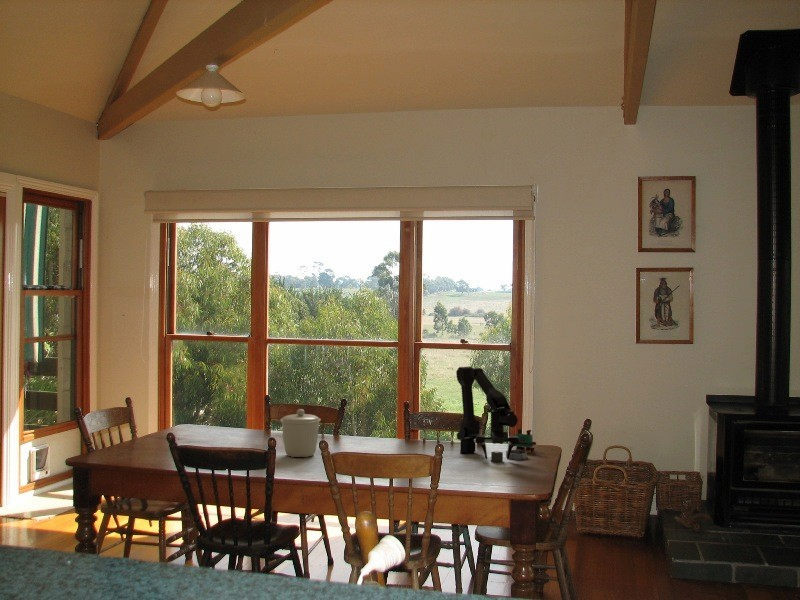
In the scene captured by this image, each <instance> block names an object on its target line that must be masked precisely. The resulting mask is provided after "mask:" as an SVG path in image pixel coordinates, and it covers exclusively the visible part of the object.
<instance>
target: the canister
mask: <svg viewBox="0 0 800 600" xmlns="http://www.w3.org/2000/svg"><path fill="white" fill-rule="evenodd" d="M321 420H322V419H321V418H320V417H318V416H317V415H315V414H308V413H305V410H304V408H303V409H302V408H298V409H297V411H296V413H294V414H288V415H285V416H283V417H282V418H280V420H279V421H280V422H281V428H282V437H283V445H284V452H285V454H286V455H287V456H288V457H290V456H291V457H290V458H294V457H305V458H310V457H311V456H314V455H315V454H316V450H317V444H318V434H319V427H320V422H321ZM309 456H310V457H309Z"/></svg>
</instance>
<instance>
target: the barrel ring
mask: <svg viewBox="0 0 800 600" xmlns="http://www.w3.org/2000/svg"><path fill="white" fill-rule="evenodd" d="M507 452H508V450H505V457H506V459H507ZM526 459H528V453H527V452H526V451H525V450H516V449H512V450H511V452H510V455H509V458H508V460H514V461H515V460H518V461H523V460H526Z"/></svg>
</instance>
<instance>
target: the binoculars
mask: <svg viewBox="0 0 800 600" xmlns="http://www.w3.org/2000/svg"><path fill="white" fill-rule="evenodd" d="M516 431H517V432H515V436H518V438H519V444H516V446H515V447H516V448H515V450H523V451H526V452H527V454H528V453H532V451H535V447H533V446H536V445H537V442H536V441H533V434H531V432H532V430H531V429H528V430H526V432H525V433H522V429H521V428H517V430H516Z"/></svg>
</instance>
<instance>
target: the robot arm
mask: <svg viewBox="0 0 800 600" xmlns="http://www.w3.org/2000/svg"><path fill="white" fill-rule="evenodd" d="M455 373H456V375H455V376H456V379H457V380H456V381H457V382H458V384H459V385H460V387H461V400H462V413H463V414H462V415H463V419H462V420H461V423H460V428H459V431H458V432H457V433H456V440H458V441H460V450H459V451H460V452H459V454H465V455H466V454H470V455H474V454H475V452H476V444H478V446H481V448H482V451H483V454H484V457H485V460H487V459H488V454H487V446H486V442H491V443H492V444H493V445H494V444H499V445H503V444H504V443H507V444H508V445H507V451H508V452H507V458H506V459H507V460H509V459H508V458H509V455H510V452H511V450H513V448H514V447H517V446H516V444H519V438H518V436H516V435H509V432H508V431H504V430H505V428H504V427H509V428H515V427H516V426H517V424H518V421H519V420H518V417H517V415H516V414H515V411H514V410H512V409H511V407H510V405H509V402H508V400H507V397H506V396H505V395H504V393H502V391H499V390H497V389H496V387H494V385H493V383H492V382H491V381H490V379H489V378H488V377H487V375H486V373H484V370H483V368H481V367H475V368H474V367H472V366H470V365H469V366H459V367H458V368H457V369H456V371H455ZM475 381H476V383H477V384H478V386H479V387H480V388H481V390H482V391H483V393H484V394H485V396H486V397H485V398H486V402H487V404H488V406H489V409H488V410H487V413H490V436H485V434H480V431H481V427H480V420H477V418H476V417H475V407H474V392H473V384H474V382H475Z"/></svg>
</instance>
